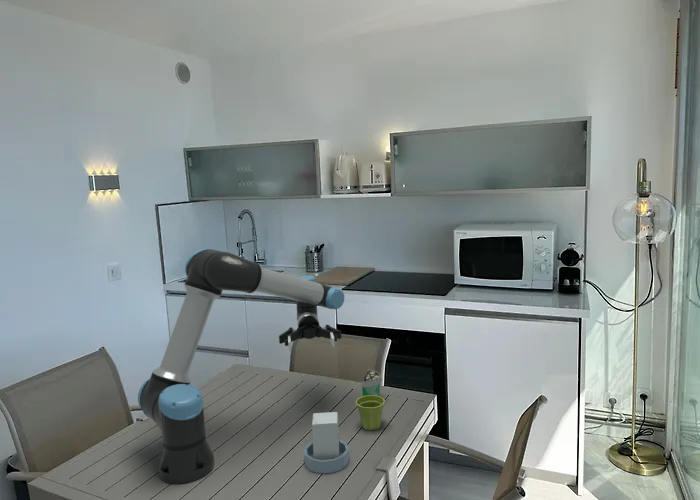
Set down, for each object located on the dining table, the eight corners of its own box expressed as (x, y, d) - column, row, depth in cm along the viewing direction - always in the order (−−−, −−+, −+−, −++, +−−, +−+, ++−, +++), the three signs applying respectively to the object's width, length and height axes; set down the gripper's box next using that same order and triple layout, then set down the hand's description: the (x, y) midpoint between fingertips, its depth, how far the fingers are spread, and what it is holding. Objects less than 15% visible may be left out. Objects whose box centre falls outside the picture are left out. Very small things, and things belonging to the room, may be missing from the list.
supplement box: (339, 465, 145) (337, 423, 143) (313, 466, 145) (311, 424, 143) (340, 451, 152) (337, 411, 150) (315, 452, 152) (312, 412, 150)
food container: (379, 409, 179) (378, 382, 178) (362, 408, 181) (361, 381, 179) (384, 394, 191) (383, 369, 190) (368, 394, 193) (367, 368, 191)
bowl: (305, 476, 141) (304, 463, 141) (304, 451, 154) (303, 440, 153) (351, 470, 143) (351, 458, 142) (346, 447, 155) (345, 436, 155)
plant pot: (376, 435, 161) (375, 409, 160) (351, 429, 166) (350, 403, 165) (390, 423, 169) (389, 398, 168) (366, 417, 174) (365, 393, 173)
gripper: (344, 333, 182) (351, 352, 161) (273, 338, 179) (271, 359, 158) (343, 312, 181) (350, 329, 160) (272, 317, 178) (270, 336, 157)
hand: (311, 344), depth 159 cm, fingers open, 13 cm apart
